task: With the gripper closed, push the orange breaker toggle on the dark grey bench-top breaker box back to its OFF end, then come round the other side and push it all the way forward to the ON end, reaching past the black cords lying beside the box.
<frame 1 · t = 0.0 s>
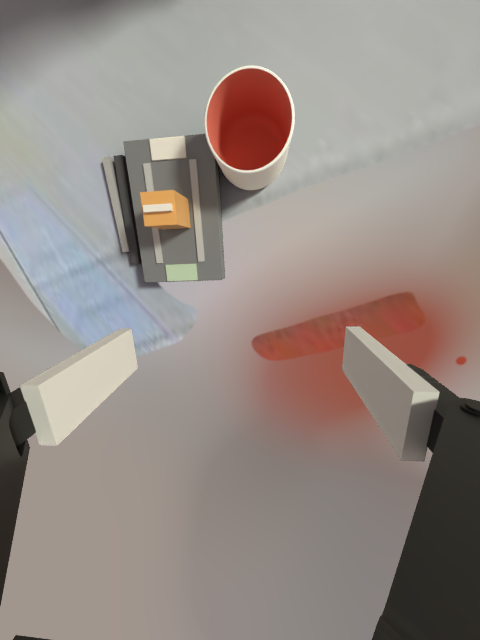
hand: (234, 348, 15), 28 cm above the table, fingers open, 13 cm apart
breaker box: (182, 217, 39), on the table
cord grey: (119, 207, 40), on the table
breaker toggle: (166, 211, 33), point 7 cm above the table, slide at 0.0 cm
cup: (252, 155, 36), on the table
cord black: (131, 213, 40), on the table
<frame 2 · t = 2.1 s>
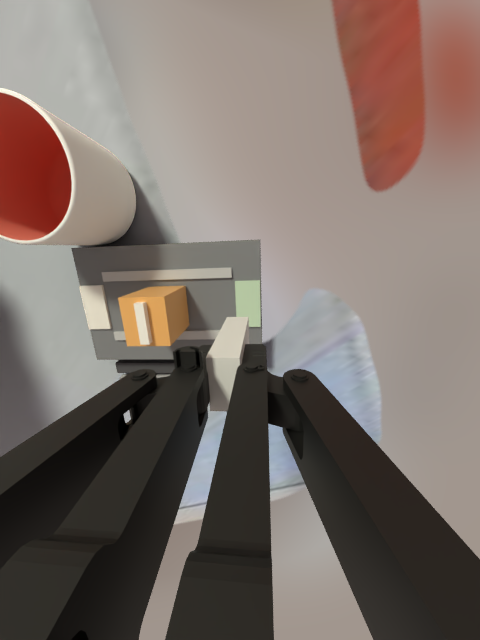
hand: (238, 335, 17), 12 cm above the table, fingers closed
breaker box: (179, 300, 30), on the table
breaker toggle: (157, 314, 23), point 6 cm above the table, slide at 0.0 cm
cup: (98, 198, 27), on the table
cord black: (179, 363, 32), on the table
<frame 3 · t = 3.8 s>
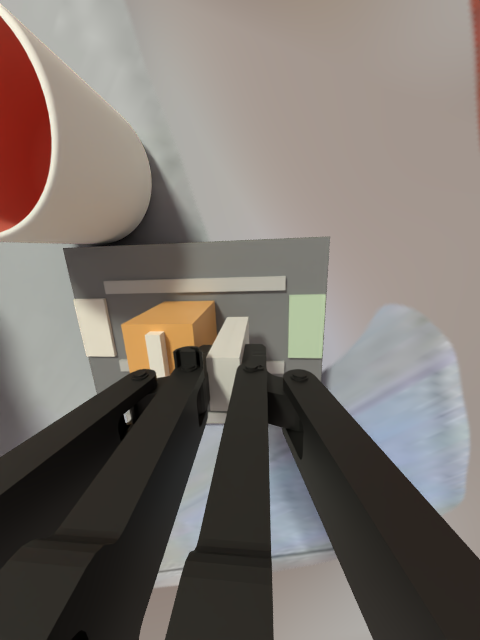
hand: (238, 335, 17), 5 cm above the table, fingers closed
breaker box: (205, 317, 22), on the table
cord grey: (194, 412, 25), on the table
breaker toggle: (177, 343, 16), point 7 cm above the table, slide at -0.3 cm, touching gripper
cup: (101, 181, 20), on the table
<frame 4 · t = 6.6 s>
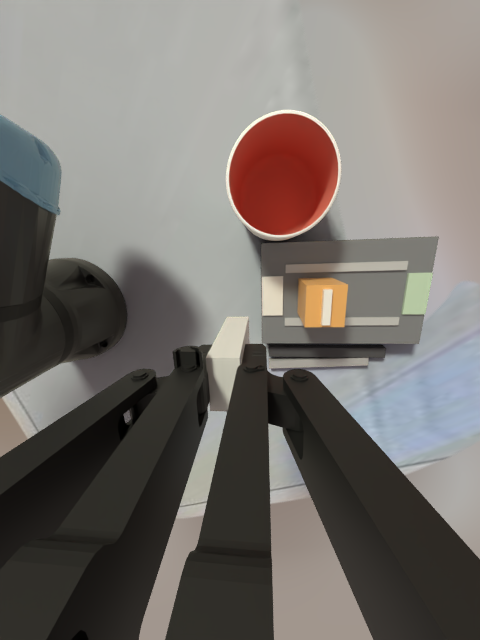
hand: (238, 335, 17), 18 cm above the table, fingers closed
breaker box: (335, 290, 33), on the table
cord grey: (316, 360, 36), on the table
breaker toggle: (319, 301, 27), point 7 cm above the table, slide at -3.4 cm
cup: (276, 200, 31), on the table
cord black: (323, 349, 36), on the table
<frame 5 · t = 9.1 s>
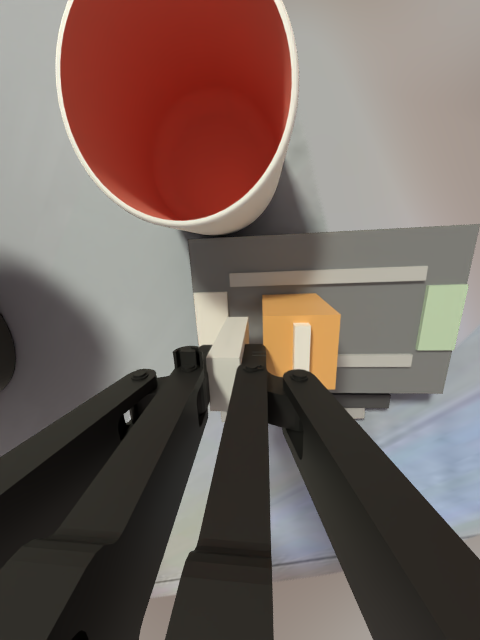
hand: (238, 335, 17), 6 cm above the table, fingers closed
breaker box: (313, 310, 22), on the table
cord grey: (289, 408, 25), on the table
breaker toggle: (293, 336, 16), point 6 cm above the table, slide at -2.6 cm, touching gripper
cup: (217, 170, 19), on the table
cord black: (299, 393, 24), on the table
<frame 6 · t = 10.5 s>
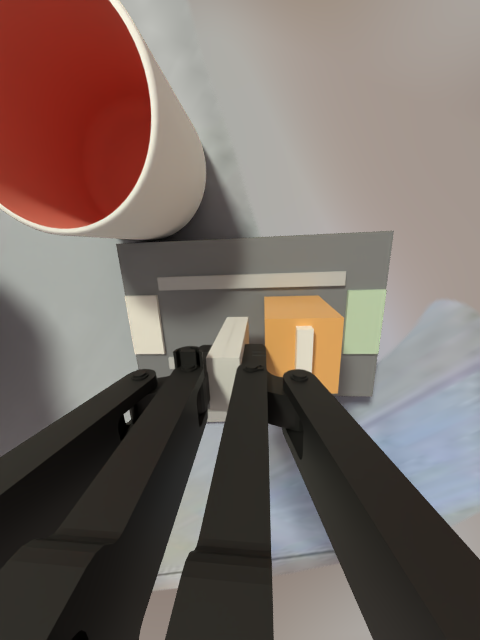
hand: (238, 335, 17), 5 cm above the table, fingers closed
breaker box: (251, 313, 22), on the table
cord grey: (235, 410, 25), on the table
breaker toggle: (295, 339, 16), point 6 cm above the table, slide at 3.2 cm, touching gripper
cup: (150, 176, 20), on the table
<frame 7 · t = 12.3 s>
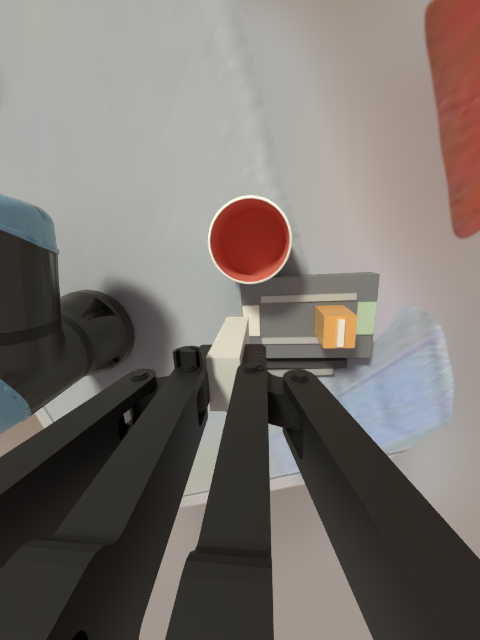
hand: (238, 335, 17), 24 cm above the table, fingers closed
breaker box: (303, 314, 40), on the table
cord grey: (291, 370, 43), on the table
breaker toggle: (334, 326, 34), point 7 cm above the table, slide at 3.2 cm
cup: (253, 243, 38), on the table
cord black: (297, 361, 43), on the table
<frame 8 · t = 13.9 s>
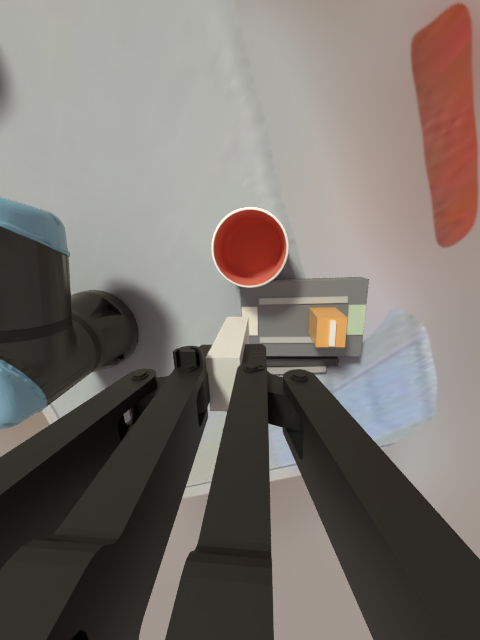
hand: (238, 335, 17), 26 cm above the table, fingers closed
breaker box: (299, 315, 43), on the table
cord grey: (286, 368, 46), on the table
breaker toggle: (326, 326, 37), point 7 cm above the table, slide at 3.2 cm
cup: (252, 248, 41), on the table
cord black: (292, 359, 46), on the table
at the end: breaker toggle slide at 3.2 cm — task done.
